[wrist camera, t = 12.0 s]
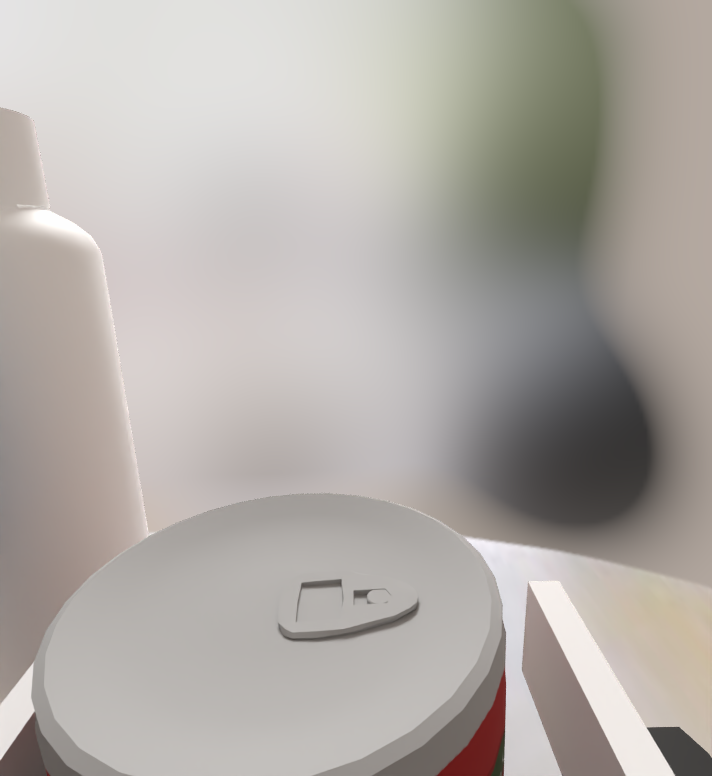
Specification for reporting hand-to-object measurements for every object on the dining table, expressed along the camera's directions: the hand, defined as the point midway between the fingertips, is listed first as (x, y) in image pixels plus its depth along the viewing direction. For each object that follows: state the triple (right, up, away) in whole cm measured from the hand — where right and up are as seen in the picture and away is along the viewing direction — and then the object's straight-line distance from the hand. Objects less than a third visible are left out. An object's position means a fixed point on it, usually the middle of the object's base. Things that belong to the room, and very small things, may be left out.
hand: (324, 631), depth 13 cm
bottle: (-13, -10, +14) cm, 22 cm away
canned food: (0, -8, -1) cm, 8 cm away
